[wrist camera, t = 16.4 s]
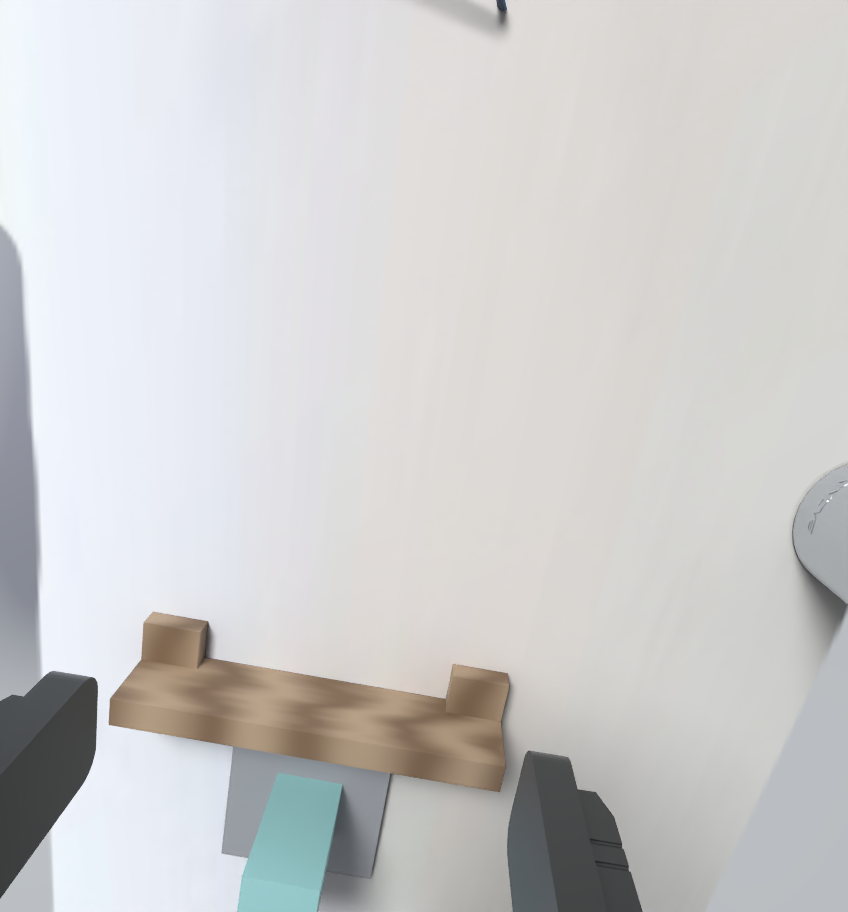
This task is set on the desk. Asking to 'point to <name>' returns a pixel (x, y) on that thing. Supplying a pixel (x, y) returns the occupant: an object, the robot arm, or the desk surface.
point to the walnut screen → (313, 711)
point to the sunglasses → (501, 4)
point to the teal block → (291, 847)
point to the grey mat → (359, 787)
